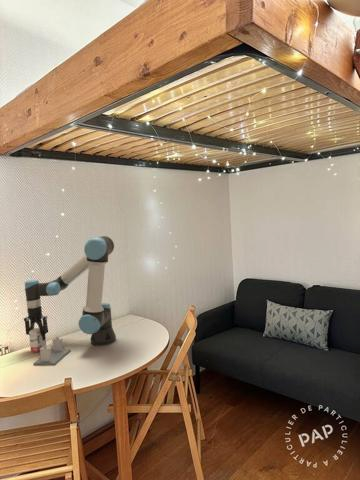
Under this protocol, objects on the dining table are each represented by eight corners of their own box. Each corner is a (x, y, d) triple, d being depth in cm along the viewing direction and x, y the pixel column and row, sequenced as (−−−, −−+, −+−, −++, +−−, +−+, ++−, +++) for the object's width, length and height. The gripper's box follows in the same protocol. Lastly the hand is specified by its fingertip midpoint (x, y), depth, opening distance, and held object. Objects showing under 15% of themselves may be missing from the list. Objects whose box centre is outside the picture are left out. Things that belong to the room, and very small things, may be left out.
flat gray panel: (70, 351, 189) (69, 335, 188) (55, 365, 171) (53, 347, 170) (51, 351, 190) (49, 335, 190) (33, 365, 173) (31, 348, 172)
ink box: (38, 351, 189) (35, 331, 188) (30, 351, 190) (27, 331, 189) (47, 345, 197) (44, 326, 196) (39, 345, 198) (37, 326, 197)
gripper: (52, 304, 194) (56, 342, 196) (23, 305, 197) (27, 343, 198) (45, 307, 187) (49, 347, 188) (15, 309, 189) (20, 348, 191)
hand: (38, 345), depth 193 cm, fingers closed on ink box, 5 cm apart
